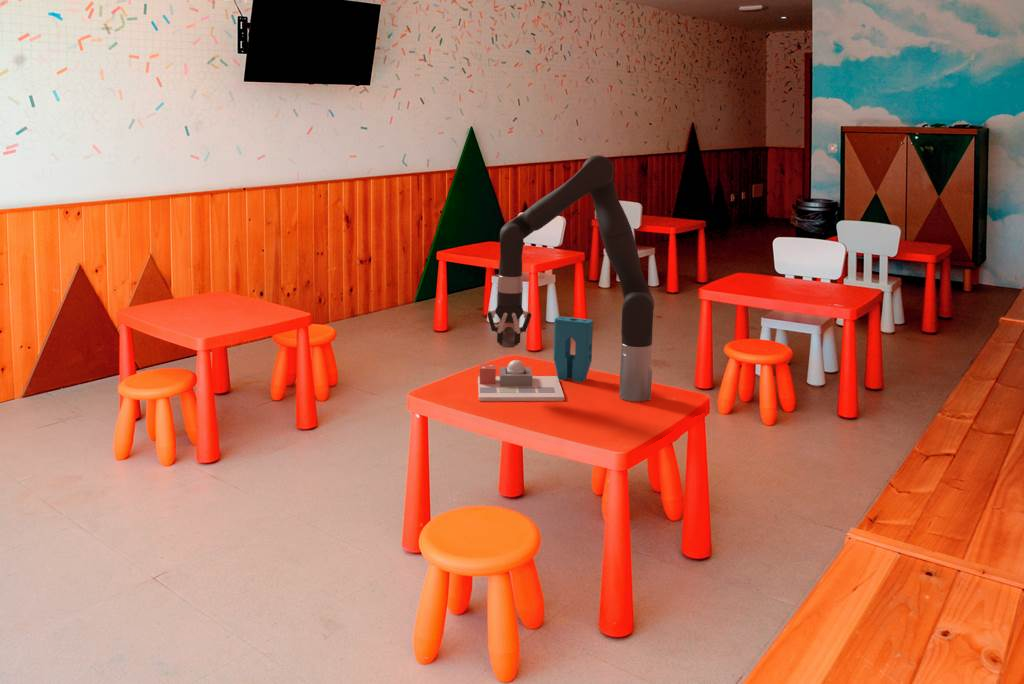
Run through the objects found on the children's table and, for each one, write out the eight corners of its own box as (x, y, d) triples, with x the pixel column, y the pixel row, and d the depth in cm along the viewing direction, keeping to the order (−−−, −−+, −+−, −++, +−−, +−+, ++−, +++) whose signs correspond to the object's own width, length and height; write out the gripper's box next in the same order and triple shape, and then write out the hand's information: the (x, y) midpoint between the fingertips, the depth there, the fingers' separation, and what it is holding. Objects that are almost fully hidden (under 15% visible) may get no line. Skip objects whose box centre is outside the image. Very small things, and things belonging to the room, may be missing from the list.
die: (495, 379, 293) (495, 364, 291) (495, 384, 288) (495, 368, 286) (479, 379, 292) (479, 364, 291) (479, 384, 287) (479, 368, 286)
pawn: (515, 343, 281) (516, 325, 279) (515, 347, 276) (516, 328, 275) (501, 343, 280) (501, 324, 279) (501, 347, 276) (501, 328, 275)
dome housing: (530, 377, 296) (530, 366, 295) (532, 386, 286) (532, 375, 285) (499, 377, 295) (499, 366, 294) (500, 386, 285) (500, 375, 285)
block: (591, 379, 298) (593, 320, 293) (586, 383, 294) (588, 323, 289) (557, 374, 303) (559, 316, 298) (552, 378, 299) (553, 319, 294)
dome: (523, 373, 293) (524, 357, 292) (524, 378, 287) (525, 362, 286) (506, 373, 293) (506, 357, 291) (507, 378, 287) (507, 362, 286)
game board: (557, 379, 297) (557, 375, 297) (564, 400, 276) (564, 396, 276) (477, 379, 296) (477, 376, 296) (478, 401, 275) (478, 396, 274)
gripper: (532, 287, 278) (530, 341, 282) (486, 286, 277) (484, 341, 281) (534, 292, 271) (532, 348, 275) (486, 291, 270) (485, 347, 274)
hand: (508, 344), depth 278 cm, fingers closed on pawn, 4 cm apart
